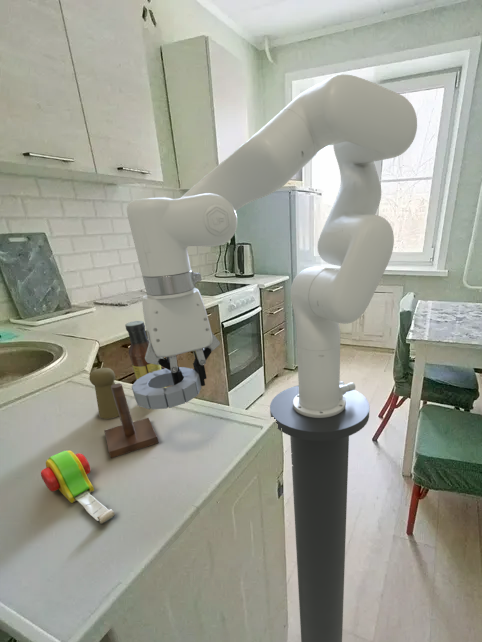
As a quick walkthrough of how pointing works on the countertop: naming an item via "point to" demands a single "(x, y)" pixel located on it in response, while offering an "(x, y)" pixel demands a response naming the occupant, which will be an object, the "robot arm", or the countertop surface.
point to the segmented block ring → (166, 389)
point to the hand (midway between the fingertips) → (191, 385)
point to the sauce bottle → (139, 349)
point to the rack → (128, 429)
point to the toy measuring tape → (74, 482)
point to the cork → (104, 392)
